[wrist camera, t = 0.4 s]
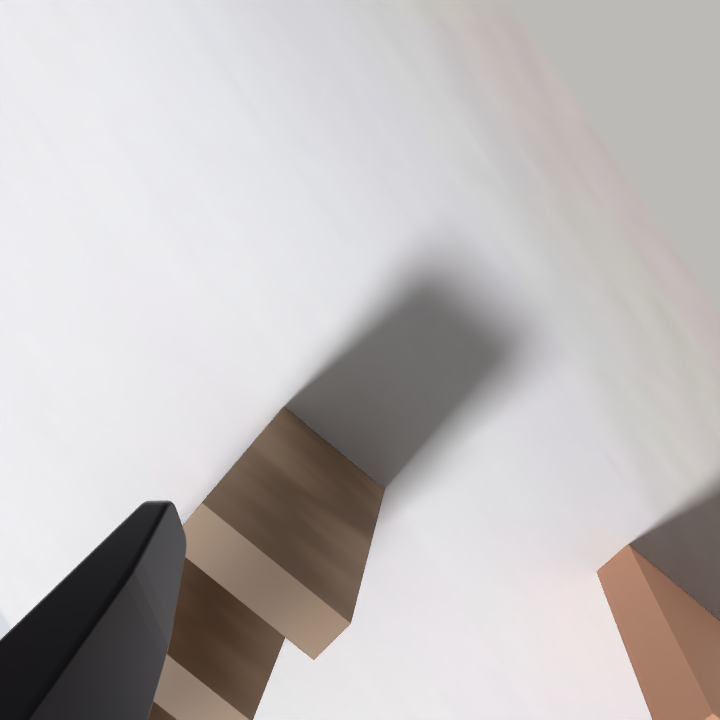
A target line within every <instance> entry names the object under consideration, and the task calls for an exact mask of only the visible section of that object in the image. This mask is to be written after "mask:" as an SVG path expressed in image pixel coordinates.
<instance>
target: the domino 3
mask: <svg viewBox="0 0 720 720" xmlns="http://www.w3.org/2000/svg"><path fill="white" fill-rule="evenodd" d="M597 574H598V577H599V580H600V582H601V585H602V587H603V590H604V593H605V595H606V598H607V601H608V603H609V606H610V609H611V611H612V614H613V617H614V619H615V622H616V624H617V627H618V630H619V632H620V635H621V638H622V640H623V643H624V646H625V648H626V651H627V654H628V656H629V659H630V661H631V664H632V667H633V669H634V672H635V675H636V677H637V680H638V683H639V685H640V688H641V691H642V693H643V696H644V699H645V701H646V704H647V706H648V709H649V712H650V714H651V717H652V720H720V621H719V620H718V619H717V618H716V617H715V616H713V615H712V614H711V613H710V612H709V611H707V610H706V609H705V608H704V607H703V606H701V605H700V604H699V603H698V602H697V601H695V600H694V599H693V598H692V597H691V596H689V595H688V594H687V593H686V592H685V591H683V590H682V589H681V588H680V587H679V586H677V585H676V584H675V583H674V582H673V581H672V580H670V579H669V578H668V577H667V576H666V575H664V574H663V573H662V572H661V571H660V570H658V569H657V568H656V567H655V566H654V565H652V564H651V563H650V562H649V561H648V560H646V559H645V558H644V557H643V556H642V555H640V554H639V553H638V552H637V551H636V550H634V549H633V548H632V547H631V546H630V545H629V544H628V545H627V546H626V547H625V548H623V549H622V550H621V551H620V552H619V553H618V554H617V555H615V556H614V557H613V558H612V559H611V560H610V561H608V562H607V563H606V564H605V565H604V566H603V567H602V568H600V569H599V570H598V571H597Z"/></svg>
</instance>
